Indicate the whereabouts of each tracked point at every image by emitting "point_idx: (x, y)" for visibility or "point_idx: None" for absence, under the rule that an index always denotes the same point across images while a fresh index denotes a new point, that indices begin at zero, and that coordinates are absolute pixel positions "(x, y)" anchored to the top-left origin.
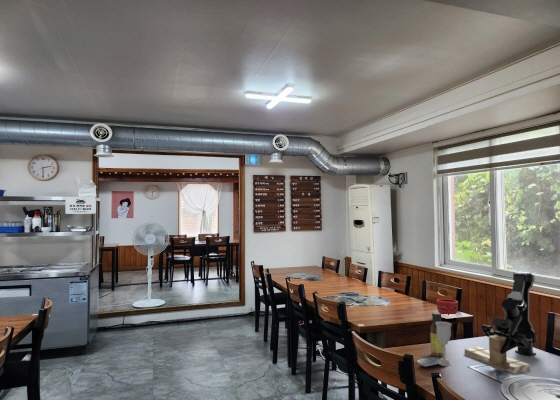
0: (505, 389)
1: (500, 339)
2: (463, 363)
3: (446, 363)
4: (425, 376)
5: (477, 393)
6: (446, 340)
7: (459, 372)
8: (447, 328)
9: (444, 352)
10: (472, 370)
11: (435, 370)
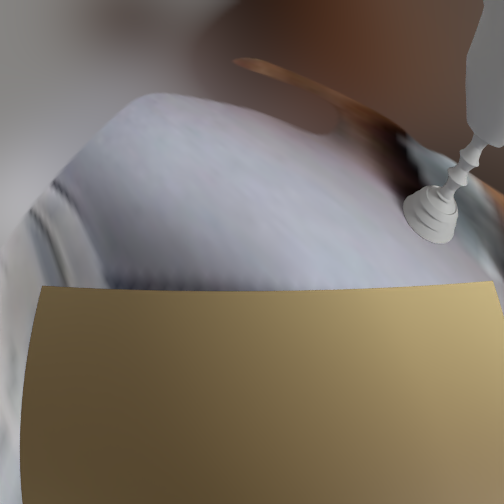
0: (62, 230)
1: (35, 418)
2: None
3: (413, 200)
4: (309, 89)
5: (121, 123)
6: (468, 92)
7: (316, 196)
8: (489, 14)
9: (454, 167)
10: (325, 283)
11: (358, 137)
